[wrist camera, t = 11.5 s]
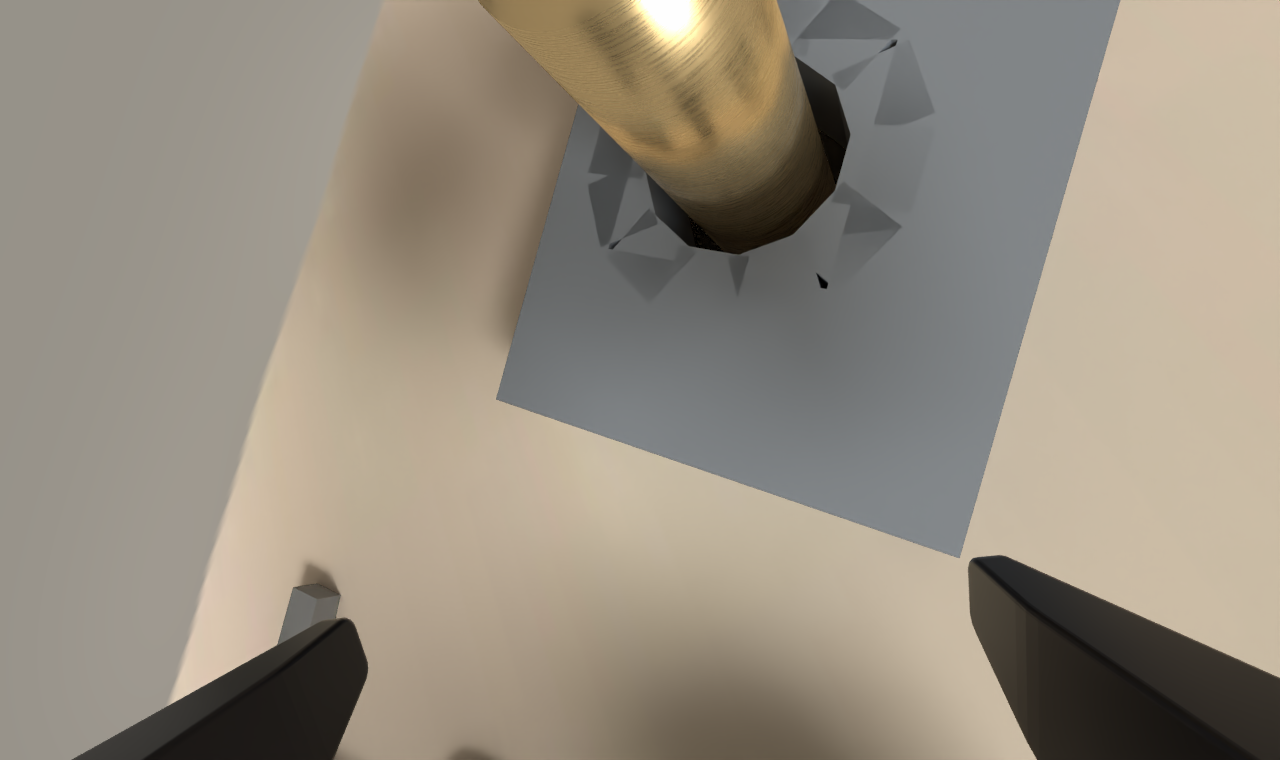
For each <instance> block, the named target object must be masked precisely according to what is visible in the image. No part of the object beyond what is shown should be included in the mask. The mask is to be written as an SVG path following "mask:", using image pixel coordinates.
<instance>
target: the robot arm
mask: <svg viewBox="0 0 1280 760" xmlns="http://www.w3.org/2000/svg"><path fill="white" fill-rule="evenodd" d="M968 578H969V601H970V615H971V620H972V624H973V627H974V629H975V632H976V634H977V636H978V638H979V641H980V643H981V645H982V647H983V649H984V651H985V653H986V656H987V658H988V660H989V662H990V664H991V666H992V668H993V671H994V673H995V675H996V677H997V679H998V681H999V683H1000V686H1001V688H1002V690H1003V692H1004V694H1005V696H1006V699H1007V701H1008V703H1009V705H1010V707H1011V709H1012V711H1013V714H1014V716H1015V718H1016V720H1017V722H1018V724H1019V726H1020V728H1021V730H1022V732H1023V734H1024V736H1025V738H1026V741H1027V743H1028V744H1029V746H1030V748H1031V750H1032V751H1033V753H1034V755H1035V757H1036V759H1037V760H1280V678H1279V677H1277V676H1274V675H1272V674H1270V673H1268V672H1265V671H1263V670H1261V669H1259V668H1256V667H1254V666H1252V665H1250V664H1247V663H1245V662H1243V661H1241V660H1238V659H1236V658H1234V657H1232V656H1229V655H1227V654H1225V653H1223V652H1220V651H1218V650H1216V649H1214V648H1211V647H1209V646H1207V645H1205V644H1202V643H1200V642H1198V641H1196V640H1193V639H1191V638H1189V637H1187V636H1184V635H1182V634H1180V633H1178V632H1175V631H1173V630H1171V629H1169V628H1166V627H1164V626H1162V625H1160V624H1157V623H1155V622H1153V621H1151V620H1148V619H1146V618H1144V617H1142V616H1139V615H1137V614H1135V613H1133V612H1130V611H1128V610H1126V609H1124V608H1121V607H1119V606H1117V605H1115V604H1112V603H1110V602H1108V601H1106V600H1103V599H1101V598H1099V597H1097V596H1094V595H1092V594H1090V593H1088V592H1085V591H1083V590H1081V589H1079V588H1076V587H1074V586H1072V585H1070V584H1067V583H1065V582H1063V581H1061V580H1058V579H1056V578H1054V577H1052V576H1049V575H1047V574H1045V573H1043V572H1040V571H1038V570H1036V569H1034V568H1031V567H1029V566H1027V565H1025V564H1022V563H1020V562H1018V561H1016V560H1013V559H1011V558H1009V557H1006V556H1002V555H996V556H986V557H977V558H973V559H972V560H971V561H970V562H969V566H968ZM367 673H368V662H367V659H366V656H365V653H364V650H363V647H362V644H361V641H360V638H359V635H358V632H357V629H356V627H355V624H354V623H353V622H352V621H351V620H350V619H348V618H337V619H327V620H322V621H320V622H318V623H316V624H314V625H312V626H311V627H309V628H307V629H305V630H303V631H302V632H300V633H298V634H296V635H295V636H293V637H291V638H289V639H287V640H286V641H284V642H282V643H280V644H278V645H277V646H275V647H273V648H271V649H269V650H268V651H266V652H264V653H262V654H260V655H259V656H257V657H255V658H253V659H251V660H250V661H248V662H246V663H244V664H242V665H241V666H239V667H237V668H235V669H234V670H232V671H230V672H228V673H226V674H225V675H223V676H221V677H219V678H217V679H216V680H214V681H212V682H210V683H208V684H207V685H205V686H203V687H201V688H199V689H198V690H196V691H194V692H192V693H190V694H189V695H187V696H185V697H183V698H181V699H180V700H178V701H176V702H174V703H173V704H171V705H169V706H167V707H165V708H164V709H162V710H160V711H158V712H156V713H155V714H153V715H151V716H149V717H148V718H146V719H144V720H142V721H140V722H138V723H137V724H135V725H133V726H131V727H130V728H128V729H126V730H124V731H122V732H121V733H119V734H117V735H115V736H113V737H112V738H110V739H108V740H106V741H104V742H103V743H101V744H99V745H97V746H95V747H94V748H92V749H90V750H88V751H86V752H85V753H83V754H81V755H79V756H77V757H76V758H74V759H72V760H333V759H334V756H335V754H336V751H337V749H338V746H339V744H340V742H341V739H342V737H343V734H344V732H345V730H346V727H347V725H348V722H349V720H350V717H351V715H352V713H353V710H354V708H355V705H356V703H357V701H358V698H359V696H360V693H361V691H362V688H363V686H364V684H365V681H366V678H367Z"/></svg>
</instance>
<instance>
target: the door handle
mask: <svg viewBox="0 0 1280 760" xmlns="http://www.w3.org/2000/svg"><path fill="white" fill-rule="evenodd" d="M340 596H341V595H340V594H337V593H335V592H333V591H331V590H329V589H327V588H325V587H323V586H321V585H319V584H311V585H305V586H298V587H293V590H292V594H291V597H290V601H289V605H288V608H287V612H286V615H285V619H284V623H283V626H282V630H281V634H280V637H279V641H278V644H280V643H282V642H284V641H286V640H287V639H289V638H291V637H293V636H295V635H296V634H298V633H300V632H302V631H303V630H305V629H307V628H309V627H311V626H312V625H314V624H316V623H318V622H320V621H322V620H327V619H336V614H337V609H338V605H339V600H340ZM278 644H277V645H278Z"/></svg>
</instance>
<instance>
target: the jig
mask: <svg viewBox="0 0 1280 760" xmlns="http://www.w3.org/2000/svg"><path fill="white" fill-rule="evenodd" d="M777 3H778V6H779V9H780V12H781V15H782V18H783V21H784V25H785V28H786V31H787V34H788V37H789V40H790V43H791V47H792V50H793V53H794V56H795V59H796V62H797V65H798V69H799V72H800V75H801V78H802V81H803V84H804V87H805V91H806V94H807V97H808V100H809V103H810V106H811V110H812V113H813V116H814V119H815V122H816V125H817V128H818V129H820V130H821V131H822V132H824V133H825V134H826V135H828V136H829V137H830V138H832V139H833V140H834V141H836V142H837V143H838V144H840V145H841V146H842V147H844V148H845V149H846V153H845V157H844V160H843V164H842V167H841V171H840V174H839V178H838V181H837V185H836V189H835V191H834V192H833V193H832V194H831V195H830V196H829V197H828V199H827V200H826V201H825V202H824V203H823V204H822V205H821V206H820V207H819V208H818V209H817V210H816V211H815V212H814V213H813V214H812V215H811V216H810V217H809V218H808V219H807V221H806V222H805V223H804V224H803V225H802V226H801V227H800V228H799V229H798V230H797V231H796V232H795V233H794V234H793V235H792V236H789V237H786V238H783V239H781V240H778V241H775V242H772V243H770V244H767V245H764V246H761V247H758V248H756V249H753V250H750V251H747V252H745V253H742V254H739V255H737V254H731V253H725V252H719V251H713V250H707V249H702V248H696V244H695V240H694V236H693V232H692V227H691V223H690V219H689V215H688V214H687V213H686V212H685V211H684V210H683V209H682V208H681V207H680V206H679V205H678V204H677V203H676V202H675V201H674V200H673V199H672V198H671V197H670V196H669V195H668V194H667V193H666V192H665V191H664V190H663V189H662V188H661V187H660V186H659V185H658V184H657V183H656V182H655V181H654V180H653V179H652V178H651V177H650V176H649V175H648V174H647V173H646V172H645V171H644V170H643V169H642V168H641V167H640V166H639V165H638V164H637V163H636V162H635V161H634V160H633V159H632V158H631V157H630V156H629V155H628V154H627V153H626V152H625V151H624V149H623V148H622V147H621V146H620V145H619V144H618V143H617V142H616V141H615V140H614V139H613V138H612V137H611V136H610V135H609V134H608V133H607V132H606V131H605V130H604V129H603V128H602V127H601V126H600V125H599V124H598V123H597V122H596V121H595V120H594V119H593V118H592V117H591V116H590V115H589V114H588V113H587V112H586V111H585V110H584V109H583V108H582V107H581V106H580V105H579V104H578V108H577V111H576V115H575V118H574V122H573V126H572V129H571V133H570V136H569V140H568V143H567V147H566V151H565V154H564V158H563V161H562V165H561V169H560V172H559V176H558V179H557V183H556V186H555V190H554V194H553V197H552V201H551V204H550V208H549V211H548V215H547V219H546V222H545V226H544V229H543V233H542V237H541V240H540V244H539V247H538V251H537V254H536V258H535V262H534V265H533V269H532V272H531V276H530V279H529V283H528V287H527V290H526V294H525V297H524V301H523V304H522V308H521V312H520V315H519V319H518V322H517V326H516V330H515V333H514V337H513V340H512V344H511V347H510V351H509V355H508V358H507V362H506V365H505V369H504V372H503V376H502V380H501V383H500V387H499V390H498V394H497V397H496V400H499V401H502V402H505V403H508V404H511V405H514V406H517V407H520V408H523V409H526V410H528V411H531V412H534V413H537V414H540V415H543V416H546V417H549V418H552V419H555V420H558V421H561V422H563V423H566V424H569V425H572V426H575V427H578V428H581V429H584V430H587V431H590V432H593V433H596V434H598V435H601V436H604V437H607V438H610V439H613V440H616V441H619V442H622V443H625V444H628V445H631V446H633V447H636V448H639V449H642V450H645V451H648V452H651V453H654V454H657V455H660V456H663V457H666V458H668V459H671V460H674V461H677V462H680V463H683V464H686V465H689V466H692V467H695V468H698V469H701V470H703V471H706V472H709V473H712V474H715V475H718V476H721V477H724V478H727V479H730V480H733V481H735V482H738V483H741V484H744V485H747V486H750V487H753V488H756V489H759V490H762V491H765V492H768V493H770V494H773V495H776V496H779V497H782V498H785V499H788V500H791V501H794V502H797V503H800V504H803V505H805V506H808V507H811V508H814V509H817V510H820V511H823V512H826V513H829V514H832V515H835V516H838V517H840V518H843V519H846V520H849V521H852V522H855V523H858V524H861V525H864V526H867V527H870V528H873V529H875V530H878V531H881V532H884V533H887V534H890V535H893V536H896V537H899V538H902V539H905V540H908V541H910V542H913V543H916V544H919V545H922V546H925V547H928V548H931V549H934V550H937V551H940V552H943V553H945V554H948V555H951V556H954V557H957V558H960V555H961V551H962V548H963V544H964V541H965V537H966V534H967V530H968V527H969V523H970V520H971V516H972V513H973V509H974V506H975V502H976V499H977V496H978V492H979V489H980V485H981V482H982V478H983V475H984V471H985V468H986V464H987V461H988V457H989V454H990V450H991V447H992V443H993V440H994V437H995V433H996V430H997V426H998V423H999V419H1000V416H1001V412H1002V409H1003V405H1004V402H1005V398H1006V395H1007V391H1008V388H1009V384H1010V381H1011V378H1012V374H1013V371H1014V367H1015V364H1016V360H1017V357H1018V353H1019V350H1020V346H1021V343H1022V339H1023V336H1024V332H1025V329H1026V325H1027V322H1028V319H1029V315H1030V312H1031V308H1032V305H1033V301H1034V298H1035V294H1036V291H1037V287H1038V284H1039V280H1040V277H1041V273H1042V270H1043V266H1044V263H1045V259H1046V256H1047V253H1048V249H1049V246H1050V242H1051V239H1052V235H1053V232H1054V228H1055V225H1056V221H1057V218H1058V214H1059V211H1060V207H1061V204H1062V200H1063V197H1064V194H1065V190H1066V187H1067V183H1068V180H1069V176H1070V173H1071V169H1072V166H1073V162H1074V159H1075V155H1076V152H1077V148H1078V145H1079V141H1080V138H1081V135H1082V131H1083V128H1084V124H1085V121H1086V117H1087V114H1088V110H1089V107H1090V103H1091V100H1092V96H1093V93H1094V89H1095V86H1096V82H1097V79H1098V76H1099V72H1100V69H1101V65H1102V62H1103V58H1104V55H1105V51H1106V48H1107V44H1108V41H1109V37H1110V34H1111V30H1112V27H1113V23H1114V20H1115V17H1116V13H1117V10H1118V6H1119V3H1120V0H777Z"/></svg>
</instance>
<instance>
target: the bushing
mask: <svg viewBox="0 0 1280 760" xmlns="http://www.w3.org/2000/svg"><path fill="white" fill-rule="evenodd" d="M478 1H479V2H480V4H481V5H482V6H483V7H484V8H485V9H486V10H487V11H488V12H489V13H490V14H491V15H492V17H493V18H494V19H495V20H496V21H497V22H498V23H499V24H500V25H501V26H502V27H503V28H504V29H505V30H506V31H507V32H508V33H509V34H510V35H511V36H512V37H513V38H514V39H515V40H516V41H517V42H518V43H519V44H520V45H521V46H522V47H523V48H524V49H525V50H526V51H527V52H528V53H529V54H530V55H531V56H532V57H533V58H534V59H535V60H536V61H537V62H538V63H539V64H540V65H541V66H542V67H543V68H544V69H545V70H546V71H547V72H548V73H549V74H550V75H551V76H552V77H553V78H554V79H555V80H556V81H557V82H558V84H559V85H560V86H561V87H562V88H563V89H564V90H565V91H566V92H567V93H568V94H569V95H570V96H571V97H572V98H573V99H574V100H575V101H576V102H577V103H578V104H579V105H580V106H581V107H582V108H583V109H584V110H585V111H586V112H587V113H588V114H589V115H590V116H591V117H592V118H593V119H594V120H595V121H596V122H597V123H598V124H599V125H600V126H601V127H602V128H603V129H604V130H605V131H606V132H607V133H608V134H609V135H610V136H611V137H612V138H613V139H614V140H615V141H616V142H617V143H618V144H619V145H620V146H621V147H622V148H623V149H624V151H625V152H626V153H627V154H628V155H629V156H630V157H631V158H632V159H633V160H634V161H635V162H636V163H637V164H638V165H639V166H640V167H641V168H642V169H643V170H644V171H645V172H646V173H647V174H648V175H649V176H650V177H651V178H652V179H653V180H654V181H655V182H656V183H657V184H658V185H659V186H660V187H661V188H662V189H663V190H664V191H665V192H666V193H667V194H668V195H669V196H670V197H671V198H672V199H673V200H674V201H675V202H676V203H677V204H678V205H679V206H680V207H681V208H682V209H683V210H684V211H685V212H686V213H687V214H688V215H689V216H690V217H691V219H692V220H693V221H694V222H695V223H696V224H697V225H698V226H699V227H700V228H701V229H702V230H703V231H704V232H705V233H706V234H707V235H708V236H709V237H710V238H711V239H712V240H713V241H714V242H715V243H716V244H717V245H718V246H719V247H720V248H721V249H722V250H723V251H724V252H725V253H731V254H737V255H739V254H742V253H745V252H747V251H750V250H753V249H756V248H758V247H761V246H764V245H767V244H770V243H772V242H775V241H778V240H781V239H783V238H786V237H789V236H792V235H793V234H794V233H795V232H796V231H797V230H798V229H799V228H800V227H801V226H802V225H803V224H804V223H805V222H806V221H807V219H808V218H809V217H810V216H811V215H812V214H813V213H814V212H815V211H816V210H817V209H818V208H819V207H820V206H821V205H822V204H823V203H824V202H825V201H826V200H827V199H828V197H829V196H830V195H831V194H832V193H833V192H834V191H835V189H836V187H835V182H834V179H833V176H832V172H831V169H830V166H829V163H828V160H827V157H826V154H825V150H824V147H823V144H822V141H821V138H820V135H819V132H818V128H817V125H816V122H815V119H814V116H813V113H812V110H811V106H810V103H809V100H808V97H807V94H806V91H805V87H804V84H803V81H802V78H801V75H800V72H799V69H798V65H797V62H796V59H795V56H794V53H793V50H792V47H791V43H790V40H789V37H788V34H787V31H786V28H785V25H784V21H783V18H782V15H781V12H780V9H779V6H778V3H777V0H478Z"/></svg>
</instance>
